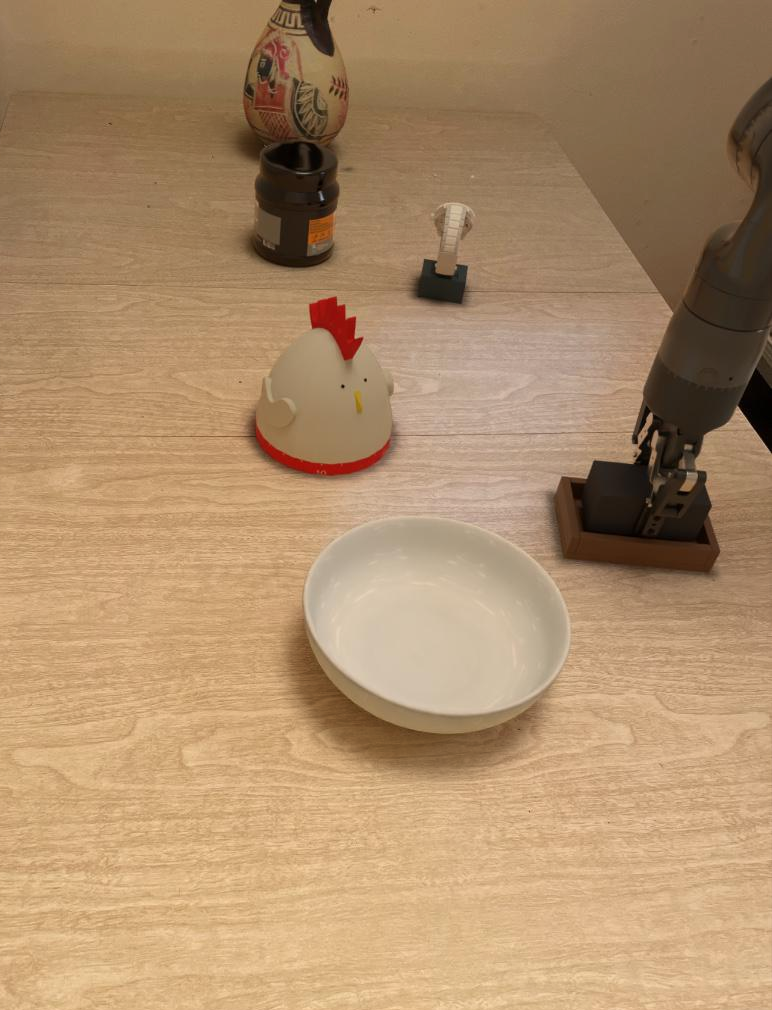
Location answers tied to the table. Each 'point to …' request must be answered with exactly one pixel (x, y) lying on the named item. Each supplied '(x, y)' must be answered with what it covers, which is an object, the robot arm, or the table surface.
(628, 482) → the black rectangular block
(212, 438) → the table surface
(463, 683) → the serving bowl
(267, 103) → the ceramic jug
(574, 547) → the brown wooden tray
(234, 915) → the table surface
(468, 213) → the cobra figurine
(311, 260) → the supplement container
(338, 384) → the kitchen timer
